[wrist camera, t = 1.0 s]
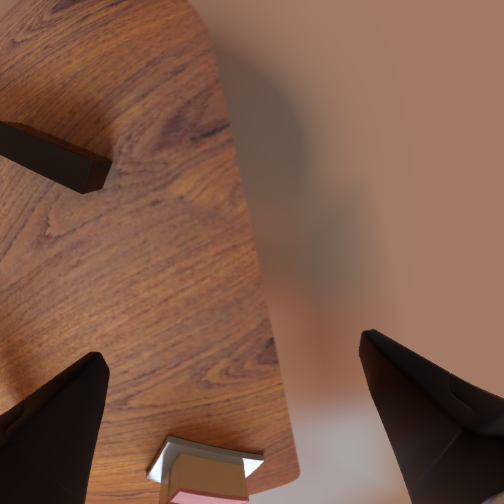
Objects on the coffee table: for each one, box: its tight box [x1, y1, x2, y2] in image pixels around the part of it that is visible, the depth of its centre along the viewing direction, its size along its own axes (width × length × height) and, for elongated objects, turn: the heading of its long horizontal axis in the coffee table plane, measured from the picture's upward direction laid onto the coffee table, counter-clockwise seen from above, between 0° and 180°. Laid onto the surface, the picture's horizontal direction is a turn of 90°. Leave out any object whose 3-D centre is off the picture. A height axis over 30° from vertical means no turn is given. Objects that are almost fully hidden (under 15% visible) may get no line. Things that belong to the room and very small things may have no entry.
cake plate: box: [146, 435, 264, 504], centre depth 26 cm, size 12×12×7 cm
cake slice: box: [170, 453, 249, 504], centre depth 25 cm, size 8×4×6 cm, turn 63°
